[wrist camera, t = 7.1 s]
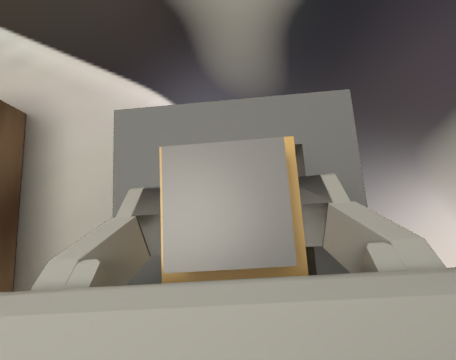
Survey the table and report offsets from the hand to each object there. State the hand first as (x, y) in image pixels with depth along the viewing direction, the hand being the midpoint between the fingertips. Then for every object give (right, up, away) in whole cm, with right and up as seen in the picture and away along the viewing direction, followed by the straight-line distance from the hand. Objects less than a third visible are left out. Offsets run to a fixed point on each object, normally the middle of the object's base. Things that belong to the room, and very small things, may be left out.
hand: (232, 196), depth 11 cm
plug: (0, -2, +5) cm, 5 cm away
